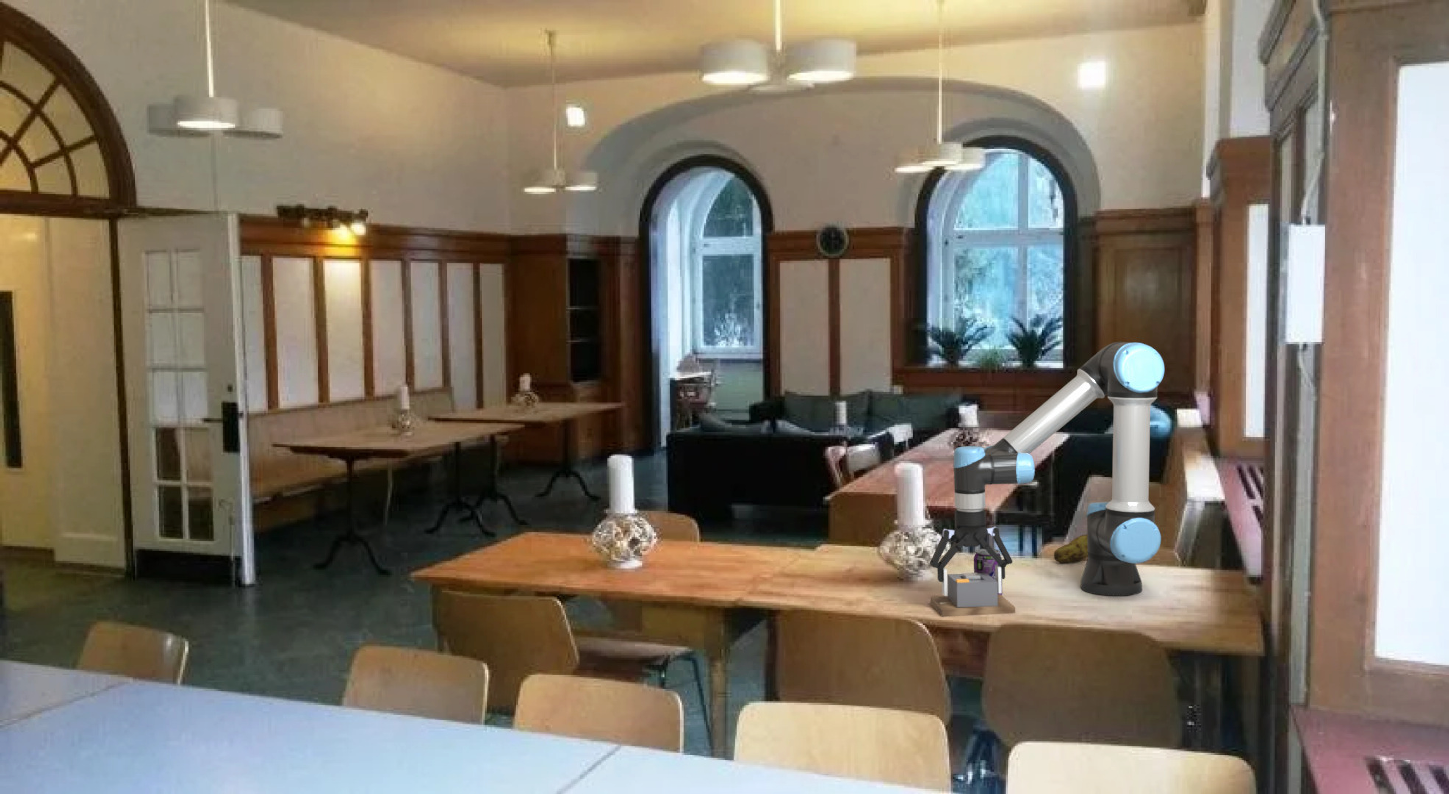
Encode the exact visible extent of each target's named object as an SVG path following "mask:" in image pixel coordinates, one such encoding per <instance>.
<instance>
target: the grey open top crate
mask: <svg viewBox="0 0 1449 794" xmlns="http://www.w3.org/2000/svg"><path fill="white" fill-rule="evenodd" d="M978 574H979V575H980V580H972V581H969V579H963V578H962V573H947V594H948V596H947V597H948V598H949V599H950V600H951V601H952V602H953V603H954V605H955V606H956V607H985V606H998V582H997V581H996V580H994V579H993V578H992V577H991V576H989V575H988V574H987V573H978Z"/></svg>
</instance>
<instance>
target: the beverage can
mask: <svg viewBox="0 0 1449 794" xmlns="http://www.w3.org/2000/svg"><path fill="white" fill-rule="evenodd" d="M992 549H993V550H994V551H995V552H996V553H997V555H998V556H999V557H1000V558H1001V559H1002V560H1003V558H1002V556H1001V554H1000V553H1001V552H1000V550H998V549H995V548H992ZM995 565H999V564H998V563H997V562H996V561H995V559H994V558H993V557H992V556H991V555H990V554H989V553H988V552H987V551H986V549H985V548H979V549H976V550H975V554H974V556H973V573H987V574H988V575H989V576H991V577H992V578H993V579H994V580H995ZM1001 585H1002V586H1003V579H1001ZM998 594H1000V595H1002V596H1003V592H1002V593H998Z"/></svg>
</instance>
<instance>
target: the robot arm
mask: <svg viewBox="0 0 1449 794" xmlns="http://www.w3.org/2000/svg"><path fill="white" fill-rule="evenodd" d="M1076 371H1077V374H1076V376H1075V377H1074V378H1072V379H1071V380H1070V381H1069V382H1067V384H1065V385H1064V386H1063V387H1062V388H1061V389H1060V390H1058V391H1056V393H1054V394H1052V396H1051V397H1050V398H1049V399H1047V400H1046V401H1045V402H1044V403H1042V404H1041V405H1040V406H1039V407H1038V408H1037V409H1036V410H1034V411H1033V412H1032V413H1031V414H1030V415H1028V416H1027V417H1026V418H1024V420H1023V421H1021V422H1020V423H1019V424H1018V425H1016V426H1015V427H1014V428H1013V429H1012V430H1010V431H1009V432H1008V433H1007V434H1005V436H1003V437H1002V438H1001V439H1000V440H998V441H996V443H995V444H993V445H989V446H986V447H984V448H983V447H982V446H977V445H976V446H975V445H973V446H970V445H968V446H960V447H959V446H958V447H956V448H955V450H954V452H953V465H952V467H953V480H954V482H953V483H954V487H953V489H954V508H955V510H954V529H947V528H942V529H941V530H942V531H941V538H940V540H939V542H938V545H937V546H936V548H935V550H934V553H933V555H932V557H931V559H930V561H929V565H930V566H931V567H932V568H934V569H937V570H936V571H937V581H938V582H939V583H941V594H942V595H943V597H948V580H947V574H948V569H947V568H945V567H947V565H948V564H949V562H950V561H951V560H952V558H954V556H955V555H956V554H957V553H958V551H959V550H961V548H962V547H965V548H970V547H979V546H980V545H981V546H982V547H983V549H986V551H987V552H988V553H989V554H990V555H991V556H992V557H993V558H994V559H995V561H996V562H997V563H998V564H999V565H995V580H996V581H997V582H998V593H1002V594H1003V584H1002V585H1001V579H1002V580H1005V578H1006V567H1007V565H1008V566H1009V564H1010V565H1011V564H1013V562H1014V561H1013V559H1012V558H1011V557H1012V556H1011V555H1010V553H1009V551H1008V550H1007V548H1006V545H1005V544H1004V541H1003V540H1002V538H1001V535H1000V530H999V528H998V527H996V526H994V525H993V526H992V527H988V528H987V524H986V523H987V519H986V517H987V516H986V515H987V514H986V510H985V508H986V485H988V486H989V485H990V486H991V485H1021V484H1028V483H1032V482H1033V480H1034V478H1035V472H1036V470H1035V461H1034V457H1033V456H1032V455H1031V453H1032V452H1034V451H1035V450H1036V449H1037V448H1038V447H1040V446H1041V445H1042V444H1043V443H1045V442H1046V441H1047V440H1048V439H1049V438H1051V437H1052V436H1053V435H1054V434H1055V433H1057V432H1058V431H1059V430H1060V429H1061V428H1062V427H1064V426H1065V425H1066V424H1067V423H1069V422H1070V421H1071V420H1073V418H1075V417H1076V416H1077V415H1079V414H1080V413H1081V411H1084V409H1086V407H1088V406H1089V405H1090V404H1092V403H1093V402H1094V401H1095V400H1096V399H1104V398H1105V397H1106V396H1107V399H1108V400H1109V401H1110V402H1111V403H1112V404H1113V425H1112V426H1113V427H1112V428H1113V429H1112V430H1113V434H1112V437H1113V438H1112V479H1111V480H1112V486H1111V487H1112V490H1111V493H1112V494H1111V500H1110V501H1097V502H1091V503H1089V504H1088V505H1087V509H1086V511H1087V512H1086V531H1087V533H1086V534H1087V543H1088V557H1087V561H1086V563H1085V566H1084V568H1083V569H1084V570H1083V573H1082V576H1081V579H1080V589H1081V590H1082V591H1084V592H1087V593H1089V594H1090V593H1091V594H1094V595H1101V596H1131V595H1135V594H1139V593H1141V592H1142V591H1143V585H1142V584H1143V582H1142V578H1141V575H1140V573H1139V570H1138V567H1137V564H1141V563H1145V562H1148V561H1150V560H1151V559H1152V558H1153V557H1154V556H1155V555H1157V553H1158V551H1159V549H1160V548H1161V542H1162V536H1161V532H1160V530H1159V527H1158V526H1157V524H1156V522H1155V521H1156V516H1155V515H1156V511H1155V510H1156V507H1154V505H1153V504H1152V503H1151V502H1150V500H1149V495H1150V493H1149V489H1150V444H1151V443H1150V442H1151V440H1150V439H1151V438H1150V437H1151V436H1150V434H1151V405H1152V404H1153V403H1154V402H1155V401H1156V399H1158V386H1159V385H1160V384H1161V382H1162V380H1163V378H1164V375H1165V363H1164V360H1163V357H1162V356H1161V354H1160V353H1159V352H1158V351H1157V350H1156V349H1154V348H1153V347H1152V346H1150V345H1148V344H1146V343H1145V344H1144V343H1142V342H1127V341H1126V342H1125V341H1117V342H1115V341H1114V342H1112V343H1110V344H1108V345H1106V346H1104V347H1103V348H1102V349H1100V350H1099V351H1098V352H1097V353H1096V354H1094V355H1093V356H1092V357H1090V358H1089V360H1087V361H1086V362H1085V363H1084V364H1083V365H1082V366H1080V367H1079V368H1078V369H1077V370H1076ZM988 534H989V535H990V536H991V537H992V538H993V540H994V542H995V544H996V547H997V548H998V549H999V551H1000V553H1001V555H1002V557H1003V558H1002V557H1001V558H1002V559H1001V558H1000V557H999V556H998V555H997V553H996V552H995V551H994V550H993V549H994V548H992V547H991V545H990V544H989V543H988V542H987V541H986V540H985V539H986V537H987V536H988ZM952 536H954V537H955V538H956V539H955V540H954V541H953V543H952V545H951V546H950V548H949V549H947V551H946V553H944V551H945V549H946V546H947V545H948V542H949V539H951V538H952ZM943 553H944V555H943ZM942 555H943V556H942Z"/></svg>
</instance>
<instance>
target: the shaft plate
mask: <svg viewBox="0 0 1449 794" xmlns="http://www.w3.org/2000/svg"><path fill="white" fill-rule="evenodd" d="M929 599H930V605H932V607H933V608H934V609H935V610H936V611H937V613H939V614H940V616H941V617H955V616H957V617H959V616H960V617H961V616H978V615H980V616H981V615H983V616H984V615H1000V614H1002V615H1003V614H1016V605H1014V604H1012V603H1011V602H1010V601H1009V600H1007V598H1005V597H1004V596H1003V594H1002V595H1000V594H998V606H985V607H956V606H955V605H954V603H953V602H952V601H951V600H950V599H949V598H948V596H936V597H935V596H934V597H933V596H932V597H930V598H929Z"/></svg>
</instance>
